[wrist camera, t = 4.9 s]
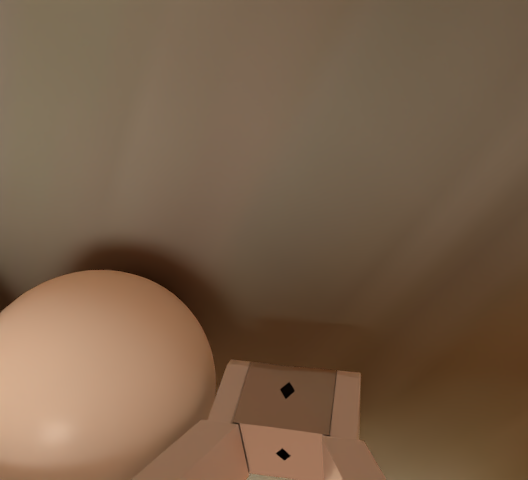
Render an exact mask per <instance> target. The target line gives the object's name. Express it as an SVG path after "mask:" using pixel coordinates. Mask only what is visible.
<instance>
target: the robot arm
mask: <svg viewBox="0 0 528 480" xmlns="http://www.w3.org/2000/svg"><path fill="white" fill-rule="evenodd" d="M360 390H361V373H359V372H349V371H339V370H338V371H337V370H333V369H322V368H310V367H298V366H294V367H290V366H282V365H274V364H267V363H259V362H250V361H241V360H232V359H231V360H230V361H229V363H228V364H227V366H226V369H225V372H224V374H223V377H222V380H221V383H220V386H219V389H218V391H217V394H216V397H215V400H214V403H213V406H212V409H211V411H210V414H209V417H208V420H203V419H201V420H200V421H199V422H198V423H197V424H195V425H194V426H193V427H192V428H191V429H189V430H188V431H187V432H186V433H185V434H184V435H182V436H181V437H180V438H179V439H178V440H177V441H175V442H174V443H173V444H172V445H171V446H170V447H168V448H167V449H166V450H165V451H164V452H163V453H161V454H160V455H159V456H158V457H157V458H156V459H154V460H153V461H152V462H151V463H150V464H148V465H147V466H146V467H145V468H144V469H143V470H141V471H140V472H139V473H138V474H137V475H136V476H134V477H133V478H132V479H131V480H246V479H247V478H248V477H249V473H252V474H259V475H267V476H275V477H283V478H289V479H295V480H386V478H385V476H384V474H383V473H382V471H381V469H380V468H379V466H378V464H377V462H376V461H375V459H374V457H373V455H372V454H371V452H370V450H369V449H368V447H367V445H366V443H365V442H364V441H361V440H359V430H360Z"/></svg>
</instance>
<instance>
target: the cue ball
mask: <svg viewBox="0 0 528 480" xmlns="http://www.w3.org/2000/svg"><path fill="white" fill-rule="evenodd" d="M215 395H216V373H215V365H214V360H213V355H212V351H211V348H210V345H209V342H208V340H207V337H206V335H205V333H204V331H203V328H202V327H201V325H200V323H199V322H198V320H197V319H196V317H195V316H194V315H193V314H192V312H191V311H190V310H189V309H188V307H187V306H186V305H185V304H184V303H183V302H182V301H181V300H180V299H179V298H178V297H176V296H175V295H174V294H173V293H171V292H170V291H169V290H167V289H166V288H164V287H162V286H161V285H159V284H157V283H155V282H153V281H151V280H149V279H146V278H144V277H141V276H138V275H134V274H130V273H126V272H122V271H114V270H87V271H80V272H75V273H70V274H66V275H62V276H59V277H56V278H54V279H51V280H48V281H46V282H44V283H42V284H40V285H38V286H36V287H34V288H32V289H30V290H29V291H27V292H25V293H23V294H22V295H21V296H20V297H18V298H17V299H16V300H15V301H13V302H12V303H11V304H10V305H8V306H7V307H6V308H5V309H3V310H2V311H1V313H0V480H131V479H132V478H133V477H134V476H136V475H137V474H138V473H139V472H140V471H141V470H143V469H144V468H145V467H146V466H147V465H148V464H150V463H151V462H152V461H153V460H154V459H156V458H157V457H158V456H159V455H160V454H161V453H163V452H164V451H165V450H166V449H167V448H168V447H170V446H171V445H172V444H173V443H174V442H175V441H177V440H178V439H179V438H180V437H181V436H182V435H184V434H185V433H186V432H187V431H188V430H189V429H191V428H192V427H193V426H194V425H195V424H197V423H198V422H199V421H200V420H201V419H203V420H208V417H209V414H210V411H211V409H212V406H213V403H214V400H215Z"/></svg>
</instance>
